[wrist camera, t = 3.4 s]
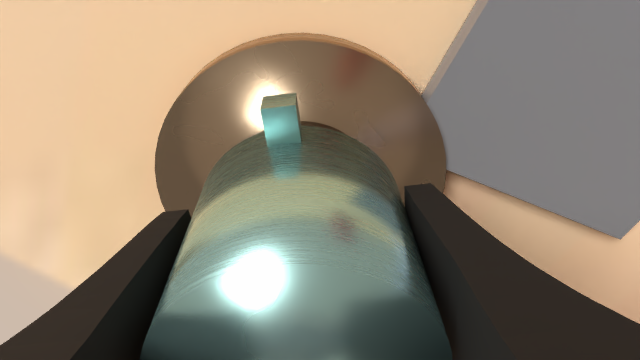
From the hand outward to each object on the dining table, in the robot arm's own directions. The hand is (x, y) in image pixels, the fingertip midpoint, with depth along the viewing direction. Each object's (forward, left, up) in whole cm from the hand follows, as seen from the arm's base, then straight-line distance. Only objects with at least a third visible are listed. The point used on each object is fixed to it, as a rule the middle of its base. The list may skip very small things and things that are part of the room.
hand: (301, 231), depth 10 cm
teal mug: (0, 0, -1) cm, 1 cm away
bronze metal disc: (0, 0, -3) cm, 3 cm away
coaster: (-6, -6, -3) cm, 9 cm away
